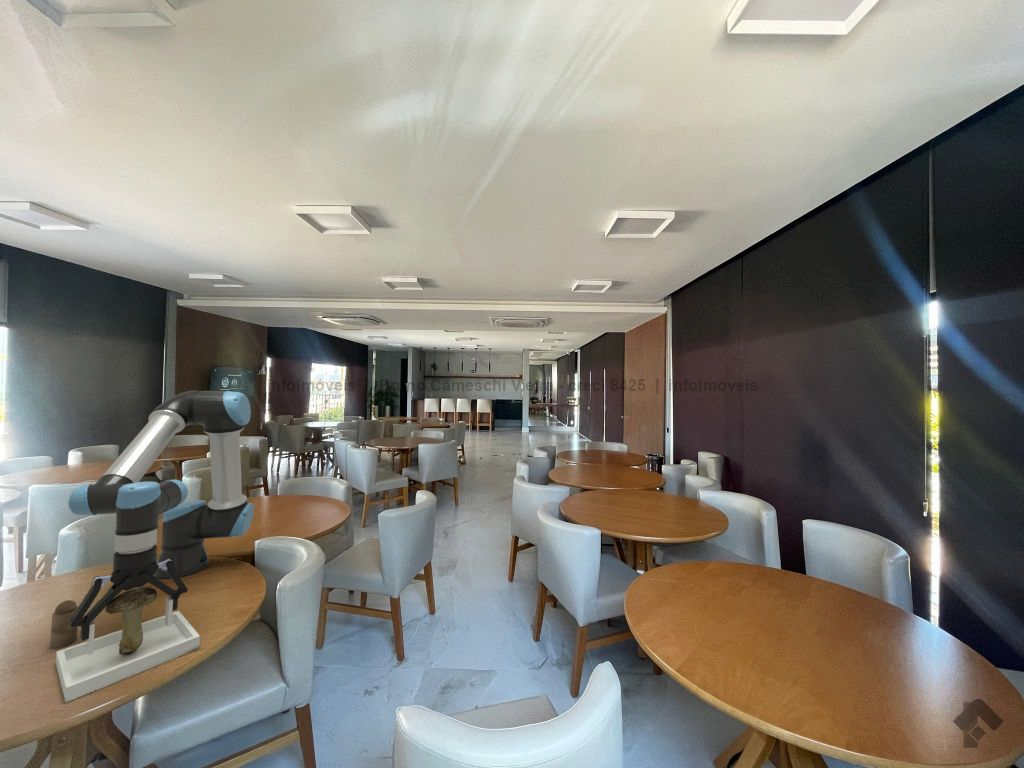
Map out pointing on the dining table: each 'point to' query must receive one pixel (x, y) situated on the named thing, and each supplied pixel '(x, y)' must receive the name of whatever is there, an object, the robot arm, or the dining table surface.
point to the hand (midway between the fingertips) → (131, 637)
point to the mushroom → (131, 616)
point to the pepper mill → (63, 625)
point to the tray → (123, 656)
